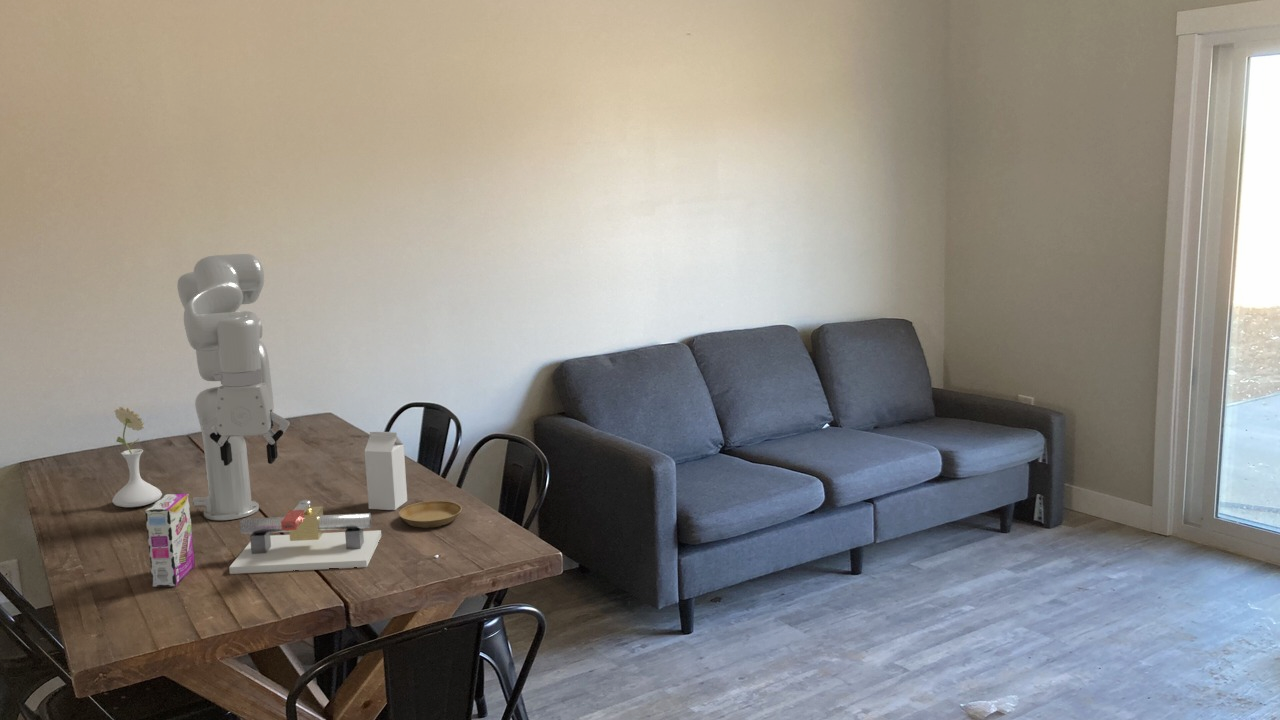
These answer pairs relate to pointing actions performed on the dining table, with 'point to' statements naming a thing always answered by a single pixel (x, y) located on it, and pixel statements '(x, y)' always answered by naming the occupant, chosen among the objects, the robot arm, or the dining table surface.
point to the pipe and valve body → (307, 528)
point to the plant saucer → (430, 513)
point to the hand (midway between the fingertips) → (250, 462)
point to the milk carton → (385, 471)
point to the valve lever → (295, 516)
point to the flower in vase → (133, 468)
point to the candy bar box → (170, 540)
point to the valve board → (307, 554)
